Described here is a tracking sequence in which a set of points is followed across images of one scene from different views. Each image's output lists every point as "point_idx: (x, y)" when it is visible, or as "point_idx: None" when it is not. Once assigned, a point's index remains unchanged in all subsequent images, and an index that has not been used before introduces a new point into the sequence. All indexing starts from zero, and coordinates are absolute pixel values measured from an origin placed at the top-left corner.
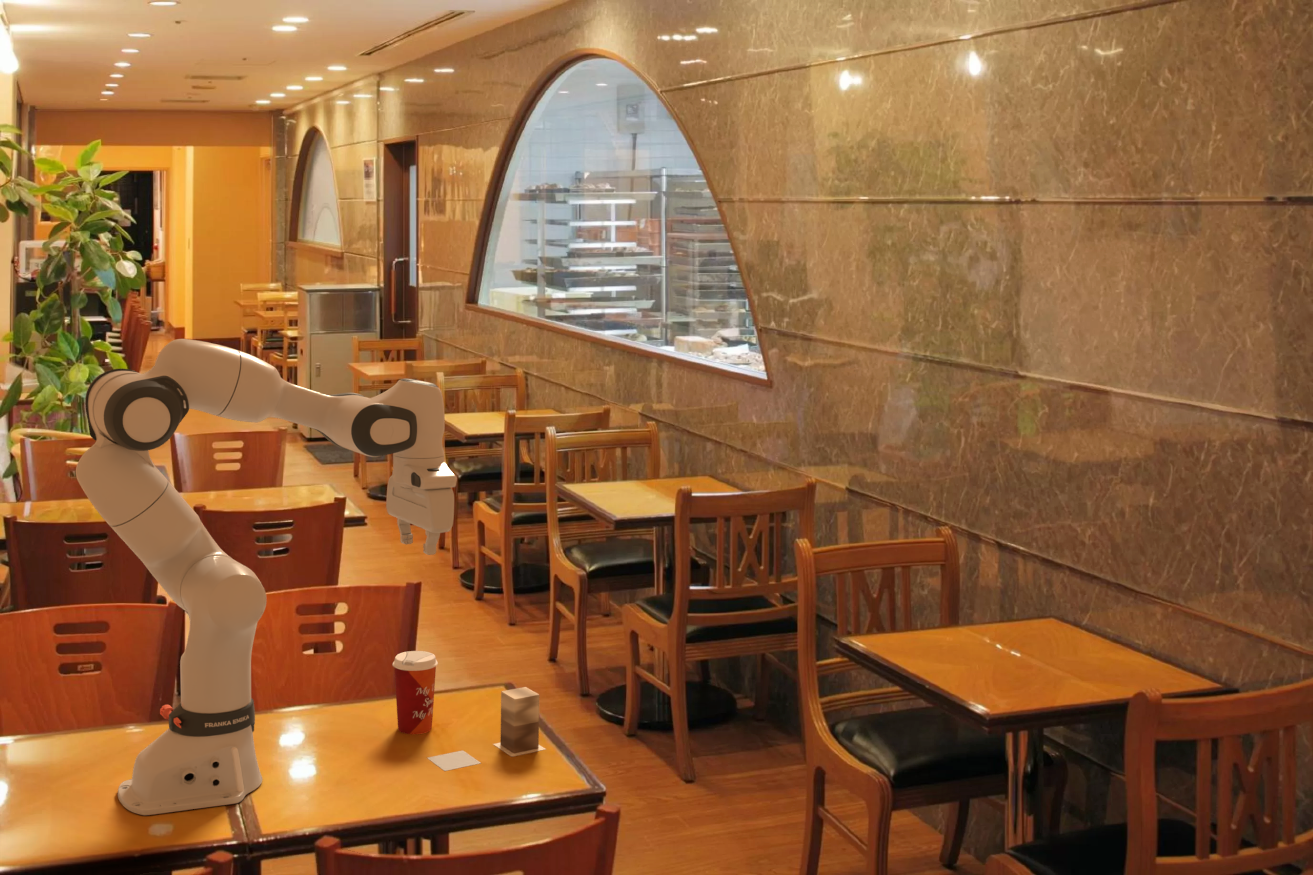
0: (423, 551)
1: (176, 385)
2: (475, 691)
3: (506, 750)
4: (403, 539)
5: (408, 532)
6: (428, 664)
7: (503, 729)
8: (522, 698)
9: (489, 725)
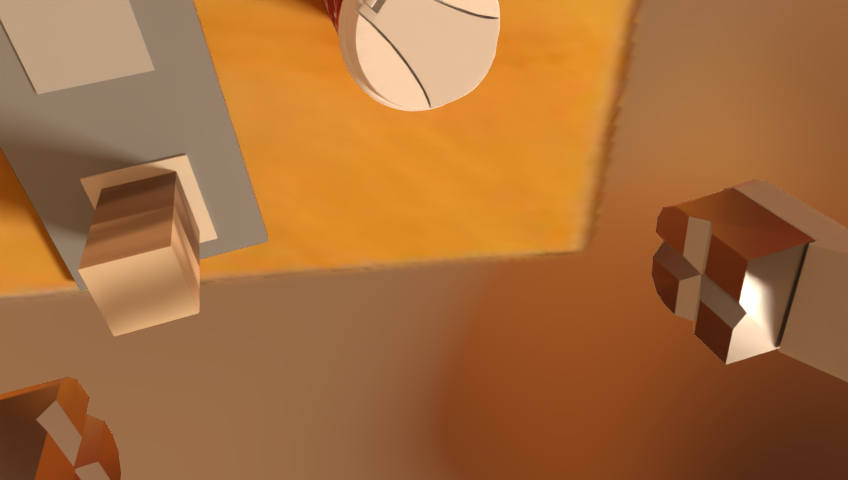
0: (56, 384)
1: None
2: (578, 192)
3: (129, 176)
4: (715, 222)
5: (797, 329)
6: (356, 68)
7: (157, 195)
8: (90, 290)
9: (362, 177)
